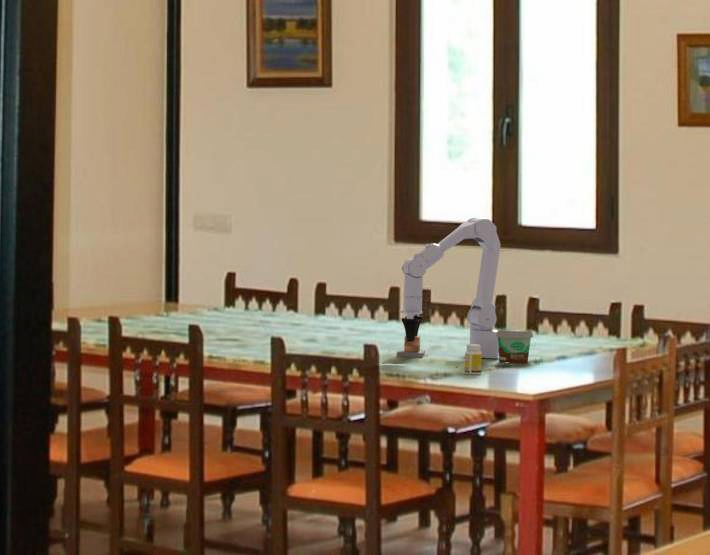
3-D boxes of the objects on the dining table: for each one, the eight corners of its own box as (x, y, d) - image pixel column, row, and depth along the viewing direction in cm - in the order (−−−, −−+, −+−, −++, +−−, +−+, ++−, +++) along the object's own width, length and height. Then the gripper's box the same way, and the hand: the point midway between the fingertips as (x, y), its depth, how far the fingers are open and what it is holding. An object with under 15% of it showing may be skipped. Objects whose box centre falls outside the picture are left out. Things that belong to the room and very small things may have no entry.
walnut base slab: (428, 359, 438) (428, 354, 438) (425, 363, 428) (425, 358, 428) (396, 357, 440) (397, 353, 440) (393, 361, 430) (393, 356, 430)
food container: (504, 364, 425) (506, 331, 424) (494, 361, 430) (496, 329, 430) (539, 363, 430) (540, 331, 429) (529, 360, 435) (530, 329, 435)
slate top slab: (424, 354, 438) (424, 350, 437) (422, 357, 430) (422, 353, 429) (399, 353, 439) (399, 348, 438) (396, 356, 431) (396, 351, 431)
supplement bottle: (483, 373, 402) (484, 344, 402) (477, 375, 398) (478, 346, 397) (467, 372, 404) (468, 343, 404) (462, 373, 400) (463, 344, 400)
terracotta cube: (419, 350, 436) (420, 336, 436) (418, 352, 432) (419, 337, 431) (405, 349, 437) (406, 335, 436) (404, 351, 432) (404, 337, 432)
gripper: (403, 294, 441) (401, 336, 441) (397, 297, 426) (396, 341, 427) (425, 295, 439) (423, 337, 440) (420, 298, 425) (419, 342, 426)
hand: (411, 340), depth 434 cm, fingers open, 7 cm apart
